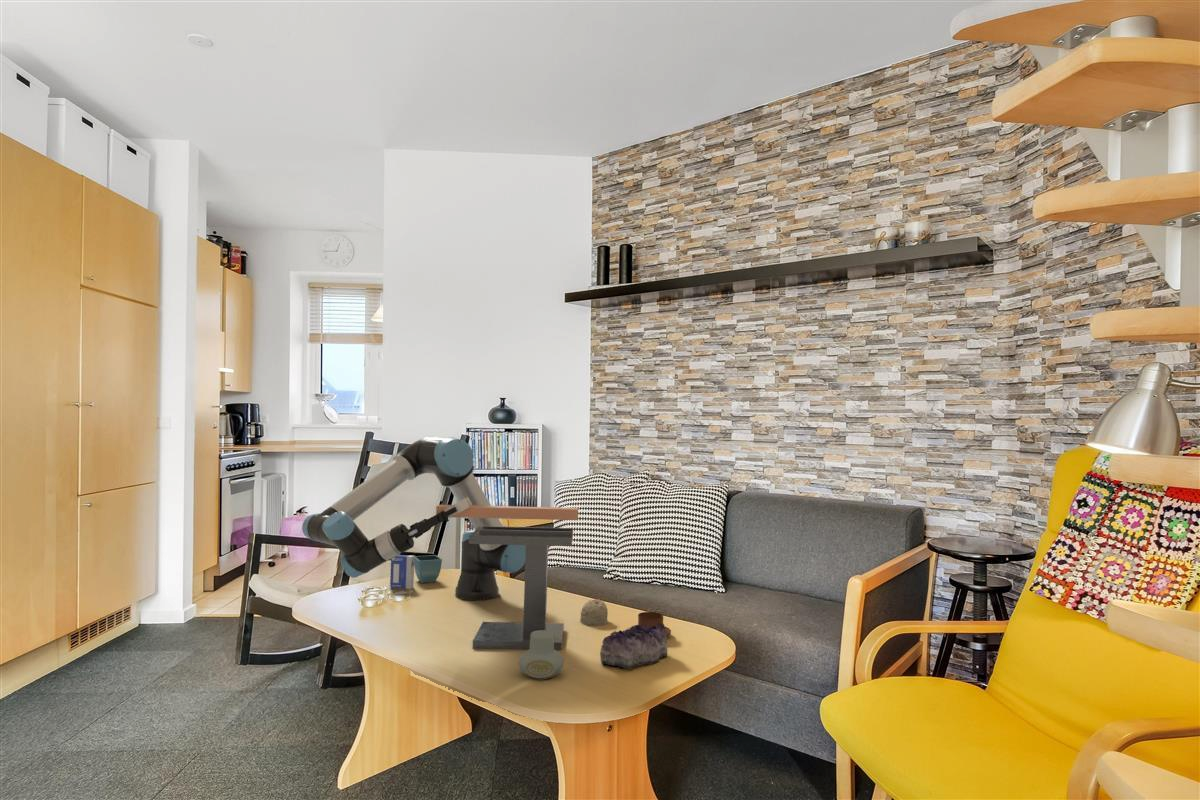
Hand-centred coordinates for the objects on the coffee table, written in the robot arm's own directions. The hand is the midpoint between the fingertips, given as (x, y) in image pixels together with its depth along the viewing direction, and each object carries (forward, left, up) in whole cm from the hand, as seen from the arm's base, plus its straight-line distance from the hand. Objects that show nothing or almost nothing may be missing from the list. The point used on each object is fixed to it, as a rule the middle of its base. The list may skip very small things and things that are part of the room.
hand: (468, 502), depth 194 cm
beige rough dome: (-36, +20, -39) cm, 57 cm away
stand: (-9, +13, -38) cm, 41 cm away
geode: (-15, +48, -39) cm, 63 cm away
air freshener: (+9, +35, -38) cm, 53 cm away
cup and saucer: (-35, +41, -39) cm, 66 cm away
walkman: (-27, -59, -38) cm, 75 cm away
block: (-7, +9, -4) cm, 12 cm away
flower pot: (-40, -60, -38) cm, 82 cm away
